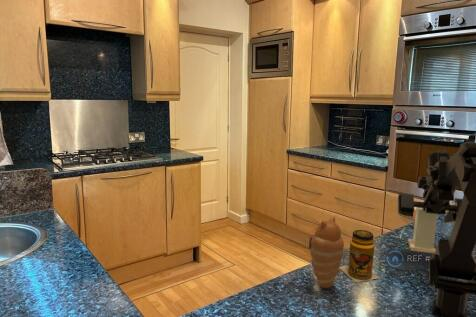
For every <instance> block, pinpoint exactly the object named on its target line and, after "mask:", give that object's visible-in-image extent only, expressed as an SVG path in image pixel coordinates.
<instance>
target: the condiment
mask: <svg viewBox="0 0 476 317" xmlns="http://www.w3.org/2000/svg"><path fill="white" fill-rule="evenodd" d="M374 252H375V244H374V234H373V233H372V232H371V231H369V230H366V229H355V230H353V231H352V236H351V240H350V242H349V255H348V256H349V258H348V264H347V265H343V266H340V267H339V270H341V271H342V272H343V273H344V274H346V275H347V277H349V278H350V279H352V281H354V282H355V283H360V282H367V281H372V280H375V279H376V280H377V279H380V277H379V276H377V275H376V274H375V273H373V263H374V255H375V254H374ZM347 271H348V272H347Z"/></svg>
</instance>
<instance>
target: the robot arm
mask: <svg viewBox="0 0 476 317" xmlns="http://www.w3.org/2000/svg"><path fill="white" fill-rule="evenodd" d="M427 157H428V158H427V164H428V165H427V166H428V167H426V173H427V174H428V175H427V176H418V178H417V182H416V183H417V189H421V190H423V192H422V199H423V201H415V200H414V199H415V197H414V196H415V194H413V193H404V192H400V193H399V194H398V196H397V213H398V214H399V215H402V216H404V217H408V218H409V219H410V220H413V219H414V213H415V212H414V211H416V210H420V211H426V213H432V214H437V215H443V216H444V218H443V224H449V223H450V224H452V223H453V226H452V229H451V232H450V235H449V237H448V238H449V239H446V238H441V239H438V241H437V247H436V248H435V249H436V251H435V254H433V253H431V256H430V259H429V260H428V268H429V269H428V270H429V272H428V274H429V277H428V284H429V285H430V286H432V287H433V288H434V289H436V290H437V292H436V298H434V301H433V302H434V303H433V305H432V310H431V313H432V314H433V315H435V316H438V317H468V308H467V302H468V295H474V296H476V258H475V253H474V250H475V247H476V142H473V141H472V142H470V141H465V142H464V143H463V142H462V143H460V145H459V148H458V150H457V151H456V152H455V153H454V154H453V155H452V156H451V154H450V153H448V150H443V149H439V150H438V151H437V152H433V153H431V154H430V155H428V156H427ZM457 188H461V190H462V193H463V197H462V198H458V197H455V192H456V191H457ZM446 212H447V213H446ZM444 277H445V278H444ZM451 278H452V279H451Z"/></svg>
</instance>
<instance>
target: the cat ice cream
mask: <svg viewBox="0 0 476 317" xmlns="http://www.w3.org/2000/svg"><path fill="white" fill-rule="evenodd" d="M341 235H342V232H341V227H340V226H339V224H337V223H336V217H335V216H332V217H330V218H329V220H326V221H324V220H322V221H321V222H320V224H318V225H317V227H316V228H315V231H314V234H312V237H311V241H310V246H311V249H310V257H311V261H310V262H311V266H312V269H313V274H314V276H315V278H316V281H317V285H318V286H319V287H320V288H322V289H329V288H331V287H332V286H333V285H334V283H335V279H336V277H337V276H338V274H339V271H340V268H339V267H341V264H342V259H343V258H344V254H345V253H344V246H345V244H344V239H343V237H342V236H341Z"/></svg>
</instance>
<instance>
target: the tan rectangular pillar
mask: <svg viewBox="0 0 476 317" xmlns="http://www.w3.org/2000/svg"><path fill="white" fill-rule="evenodd" d="M437 220H438V214H432V213H426V211H420V210H415V219H414V227H413V237H412V239H413V243H414V247H420V248H426V249H433V246H434V245H435V237H436V236H435V235H436V228H437V222H438V221H437ZM434 247H435V246H434Z"/></svg>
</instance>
